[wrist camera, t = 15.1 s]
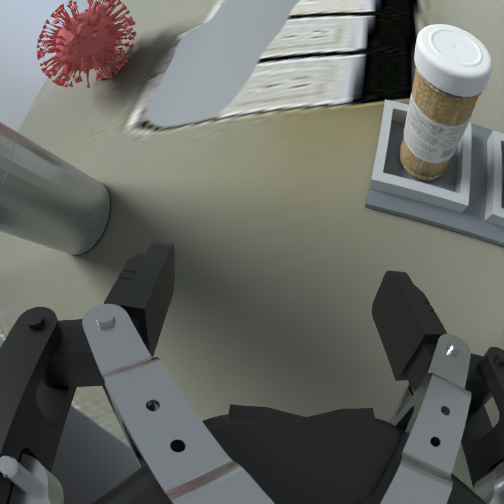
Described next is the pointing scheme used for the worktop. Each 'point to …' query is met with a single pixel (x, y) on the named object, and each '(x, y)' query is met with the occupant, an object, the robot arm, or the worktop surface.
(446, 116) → the sprinkles bottle
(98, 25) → the virus model
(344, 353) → the worktop surface
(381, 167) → the grey flat tray
